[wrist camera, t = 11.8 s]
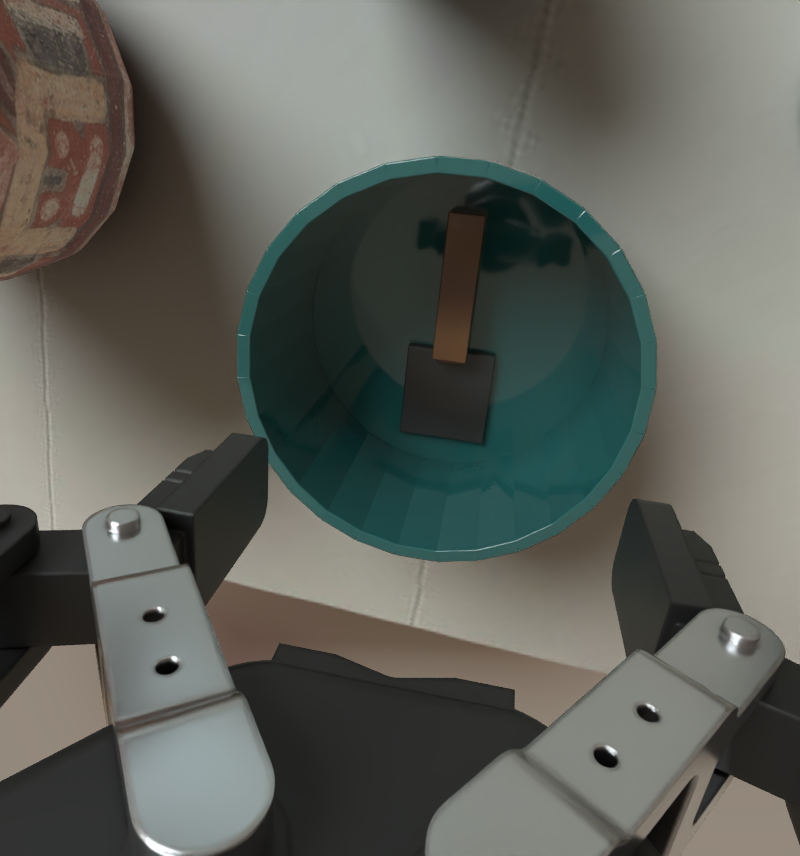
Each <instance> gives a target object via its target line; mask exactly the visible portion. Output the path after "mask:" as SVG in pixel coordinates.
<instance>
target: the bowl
mask: <svg viewBox="0 0 800 856" xmlns="http://www.w3.org/2000/svg"><path fill="white" fill-rule="evenodd" d="M454 208H456V209H465V210H474V211H484V212H487V221H486V228H485V236H484V243H483V250H482V258H481V265H480V272H479V279H478V287H477V294H476V301H475V309H474V316H473V323H472V330H471V338H470V345H469V351H476V352H484V353H491V354H496V358H495V365H494V371H493V378H492V384H491V391H490V397H489V404H488V410H487V417H486V423H485V430H484V436H483V442H482V443H475V442H468V441H461V440H455V439H448V438H441V437H434V436H427V435H421V434H414V433H407V432H401V431H400V425H401V415H402V405H403V395H404V385H405V375H406V365H407V355H408V346H409V344H410V343H415V344H423V345H431V346H433V343H434V335H435V326H436V317H437V309H438V300H439V291H440V283H441V274H442V265H443V256H444V248H445V239H446V230H447V222H448V213H449V212H450V211H451V210H452V209H454ZM237 333H238V334H237V376H238V377H237V379H238V384H239V388H240V392H241V397H242V401H243V405H244V410H245V414H246V418H247V420H248V423H249V425H250V427H251V429H252V431H253V433H254V435H255V436H257V437H263V438H266V439H267V442H268V448H269V453H268V462H269V464H270V465H271V467H272V468H273V469H274V471H275V472H276V473H277V475H278V476H279V477H280V479H281V480H282V481H283V483H284V484H285V485H286V487H287V488H288V489H289V490H290V492H291V493H292V494H293V495H295V496H296V497H297V498H298V499H299V500H300V501H301V502H302V503H303V504H305V505H306V506H307V507H308V508H309V509H310V510H311V511H312V512H313V513H314V514H316V515H317V516H318V517H319V518H321V519H322V520H323V521H325V522H326V523H328V524H330V525H331V526H333V527H335V528H336V529H338V530H340V531H341V532H343V533H345V534H346V535H348V536H350V537H351V538H353V539H355V540H356V539H357V541H359V542H362V543H364V544H367V545H370V546H373V547H375V548H378V549H381V550H383V551H386V552H389V553H392V554H396V555H399V556H405V557H411V558H417V559H423V560H429V561H437V562H451V561H478V560H484V559H488V558H493V557H497V556H501V555H506V554H510V553H515V552H519V551H522V550H524V549H527V548H529V547H531V546H533V545H535V544H538V543H540V542H542V541H544V540H546V539H549V538H551V537H553V536H555V535H558V534H559V533H561V532H562V531H563V530H565V529H566V528H568V527H569V526H570V525H572V524H573V523H574V522H576V521H577V520H578V519H580V518H581V517H582V516H584V515H585V514H587V513H588V512H589V511H591V510H592V509H593V508H594V507H595V506H596V505H597V504H598V503H599V502H600V501H601V500H602V498H603V497H604V496H605V495H606V494H607V493H608V491H609V490H610V489H611V488H612V487H613V486H614V485H615V483H616V482H617V481H618V480H619V479H620V478H621V477H622V475H623V474H624V473H625V471H626V469H627V467H628V465H629V463H630V461H631V459H632V458H633V456H634V454H635V452H636V450H637V448H638V446H639V444H640V443H641V441H642V439H643V437H644V434H645V432H646V428H647V424H648V420H649V416H650V412H651V408H652V404H653V401H654V397H655V393H656V383H657V342H656V336H655V331H654V327H653V323H652V319H651V315H650V311H649V307H648V303H647V299H646V295H645V293H644V290H643V288H642V286H641V284H640V283H639V281H638V279H637V277H636V275H635V273H634V271H633V269H632V268H631V266H630V264H629V262H628V260H627V258H626V256H625V254H624V253H623V251H622V249H621V248H620V246H619V245H618V244H617V243H616V242H615V241H614V240H613V238H612V237H611V236H610V235H609V234H608V233H607V232H606V231H605V230H604V229H603V227H602V226H601V225H600V224H599V223H598V222H597V221H596V220H595V219H594V217H593V216H592V215H591V214H590V213H589V212H588V211H587V210H586V209H585V208H584V207H582V206H581V205H579V204H578V203H576V202H575V201H573V200H572V199H570V198H569V197H567V196H566V195H564V194H563V193H561V192H560V191H558V190H557V189H555V188H554V187H552V186H551V185H549V184H548V183H546V182H545V181H543V180H542V179H540V178H538V177H537V176H535V175H533V174H532V173H529V172H526V171H523V170H520V169H518V168H515V167H512V166H509V165H506V164H504V163H501V162H498V161H493V160H483V159H473V158H463V157H449V156H431V157H424V158H418V159H411V160H404V161H397V162H390V163H386V164H382V165H379V166H377V167H374V168H372V169H370V170H367V171H365V172H362V173H360V174H357V175H355V176H352V177H350V178H348V179H345V180H343V181H340V182H338V183H337V184H335V185H334V186H332V187H331V188H330V189H328V190H327V191H325V192H324V193H323V194H321V195H320V196H319V197H317V198H316V199H315V200H313V201H312V202H310V203H309V204H308V205H306V206H305V207H304V208H302V209H301V210H299V212H298V213H296V214H295V216H294V217H293V218H292V219H291V220H290V222H289V223H288V224H287V225H286V226H285V228H284V229H283V230H282V231H281V232H280V234H279V235H278V236H277V237H276V238H275V240H274V241H273V242H272V243H271V244H270V246H269V247H268V249H267V250H266V252H265V254H264V256H263V258H262V260H261V262H260V264H259V266H258V268H257V270H256V272H255V274H254V276H253V278H252V280H251V282H250V284H249V286H248V289H247V291H246V296H245V300H244V305H243V309H242V314H241V318H240V322H239V327H238V331H237Z"/></svg>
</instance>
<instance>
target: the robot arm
mask: <svg viewBox="0 0 800 856" xmlns="http://www.w3.org/2000/svg"><path fill="white" fill-rule="evenodd" d="M268 453H269V448H268V442H267V439H266V438H263V437H257V436H250V435H244V434H238V433H232V434H231V435H230V436H229V437H228V438H227V439H226V440H225V441H224V442H223V443H221V444H220V445H219V446H218V447H217V448H216V449H215V450H214V451H212V450H205V451H203V452H200V453H198V454H196V455H193V456H191V457H189V458H187V459H186V460H185V461H184V462H182V463H181V464H180V465H179V466H178V467H177V468H176V469H175V472H174V471H173V472H172V473H171V474H169V475H168V476H167V477H166V479H165V481H162V482H161V483H160V484H159V485H158V486H156V487H155V488H154V489H153V490H152V491H151V492H150V493H149V494H148V495H147V496H146V497H145V498H143V499H142V500H141V501H140V502H139V503H138V504H137V505H134V504H129V505H118V506H113V507H109V508H105V509H103V510H100V511H98V512H96V513H94V514H93V515H91V516H90V517H89V518H88V519H86V521H85V522H84V523H83V526H82V530H50V531H39V528H38V521H37V515H36V513H35V512H34V511H33V510H31V509H29V508H27V507H24V506H19V505H0V708H1V707H2V705H3V704H4V703H5V702H6V701H7V700H8V698H9V697H10V696H11V695H12V694H13V692H14V691H15V690H16V689H17V687H19V685H20V684H21V683H22V682H23V681H24V679H25V678H26V677H27V676H28V675H29V673H30V672H31V671H32V670H33V669H34V668H35V666H36V665H37V664H38V663H39V662H40V661H41V659H42V658H43V657H44V656H45V655H46V653H47V652H48V651H49V650H50V648H51V647H52V646H60V645H80V644H95V649H96V657H97V664H98V671H99V677H100V684H101V691H102V698H103V705H104V711H105V718H106V725H107V727H105V728H103V729H101V730H99V731H97V732H95V733H93V734H91V735H89V736H87V737H85V738H84V739H82V740H80V741H78V742H76V743H74V744H72V745H70V746H68V747H66V748H64V749H62V750H60V751H58V752H57V753H55V754H53V755H51V756H49V757H47V758H45V759H43V760H41V761H39V762H37V763H35V764H33V765H32V766H29V767H28V768H26V769H24V770H22V771H20V772H18V773H16V774H14V775H12V776H10V777H8V778H6V779H4V780H2V781H1V782H0V856H681V854H682V852H683V850H684V849H685V847H686V846H687V844H688V843H689V841H690V840H691V838H692V837H693V835H694V834H695V833H696V831H697V830H698V828H699V827H700V826H701V824H702V823H703V821H704V820H705V818H706V817H707V816H708V814H709V813H710V811H711V810H712V808H713V807H714V805H715V804H716V802H717V801H718V800H719V798H720V797H721V796H722V794H723V793H724V791H725V790H726V788H727V787H728V786H729V784H730V782H731V781H732V779H733V777H736V778H738V779H740V780H743V781H745V782H747V783H749V784H752V785H753V786H756V787H758V788H760V789H762V790H764V791H767V792H769V793H771V794H773V795H775V796H777V797H780V798H782V799H784V800H785V802H786V806H787V809H788V812H789V815H790V818H791V821H792V824H793V827H794V830H795V833H796V835H797V838H798V841H799V844H800V665H799V664H796V663H794V662H792V661H790V660H788V659H786V658H785V653H786V652H785V647H784V645H783V643H782V641H781V640H780V639H779V637H778V636H777V635H776V634H775V633H774V632H773V631H772V630H770V629H769V628H768V627H767V626H765V625H764V624H762V623H761V622H759V621H757V620H756V619H754V618H751V617H749V616H747V615H745V614H744V613H743V611H742V609H741V607H740V605H739V603H738V601H737V599H736V597H735V595H734V592H733V590H732V588H731V586H730V584H729V582H728V580H727V579H725V574H724V572H723V570H722V568H721V566H719V562H718V560H717V558H716V556H715V554H714V552H713V549H712V547H711V546H710V545H709V544H707V543H706V542H705V541H704V540H703V539H702V538H701V537H700V536H699V535H697V534H696V533H695V532H694V531H688V530H682V528H681V526H680V524H679V521H678V519H677V517H676V514H675V512H674V510H673V508H672V506H671V505H670V504H665V503H659V502H652V501H646V500H640V499H633V500H632V501H631V503H630V505H629V508H628V512H627V515H626V519H625V523H624V526H623V530H622V534H621V537H620V541H619V545H618V548H617V552H616V556H615V559H614V564H613V570H612V592H613V596H614V601H615V606H616V610H617V615H618V620H619V624H620V629H621V634H622V638H623V643H624V648H625V652H626V657H627V658H626V659H625V660H624V661H623V662H621V663H620V664H619V665H618V666H617V667H616V668H615V669H613V670H612V671H611V672H610V673H609V674H608V675H607V676H606V677H604V678H603V679H602V680H601V681H600V682H599V683H598V684H596V685H595V686H594V687H593V688H592V689H591V690H590V691H589V692H587V693H586V694H585V695H584V696H583V697H582V698H581V699H579V700H578V701H577V702H576V703H575V704H574V705H573V706H571V707H570V708H569V709H568V710H567V711H566V712H565V713H564V714H563V715H561V716H560V717H559V718H558V719H557V720H556V721H554V722H553V723H552V724H551V725H550V726H549V727H547V726H545V725H544V724H542V723H541V722H539V721H538V720H536V719H534V718H532V717H530V716H528V715H526V714H525V713H523V712H520V711H518V710H516V709H514V702H515V701H514V698H515V697H514V696H515V690H512V689H508V688H503V687H498V686H492V685H488V684H483V683H478V682H472V681H467V680H463V679H457V678H394V677H389V676H386V675H383V674H381V673H379V672H377V671H374V670H371V669H369V668H367V667H364V666H362V665H360V664H357V663H355V662H353V661H350V660H348V659H346V658H343V657H341V656H338V655H336V654H331V653H326V652H321V651H316V650H311V649H306V648H301V647H296V646H291V645H286V644H281V643H280V644H279V646H278V648H277V650H276V652H275V654H274V656H273V658H272V660H263V661H252V662H246V663H241V664H236V665H232V666H229V667H227V664H226V661H225V659H224V657H223V653H222V651H221V648H220V645H219V643H218V640H217V637H216V635H215V632H214V629H213V627H212V624H211V622H210V619H209V616H208V613H207V611H206V608H205V606H206V604H207V603H208V601H209V600H210V598H211V597H212V596H213V594H214V593H215V591H216V590H217V588H218V587H219V585H220V584H221V583H222V581H223V580H224V578H225V577H226V575H227V574H228V573H229V571H230V570H231V568H232V567H233V565H234V564H235V562H236V561H237V560H238V558H239V557H240V555H241V554H242V552H243V551H244V549H245V548H246V546H247V545H248V544H249V542H250V541H251V539H252V538H253V536H254V535H255V533H256V532H257V531H258V529H259V528H260V526H261V524H262V522H263V519H264V516H265V513H266V508H267V500H268Z"/></svg>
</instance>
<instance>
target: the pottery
mask: <svg viewBox="0 0 800 856" xmlns="http://www.w3.org/2000/svg"><path fill="white" fill-rule="evenodd" d="M134 147H135V131H134V109H133V87H132V85H131V82H130V79H129V77H128V74H127V71H126V68H125V66H124V63H123V60H122V57H121V55H120V52H119V49H118V47H117V44H116V41H115V38H114V36H113V33H112V30H111V28H110V25H109V23H108V20H107V18H106V15H105V13H104V12H103V10H102V9H101V7H100V6H99V4H98V3H97V1H96V0H0V281H3V280H8V279H11V278H14V277H17V276H20V275H23V274H26V273H29V272H32V271H34V270H37V269H39V268H42V267H44V266H47V265H49V264H52V263H54V262H57V261H59V260H62V259H64V258H67V257H69V256H72V255H74V254H76V253H77V252H79V251H80V250H81V249H82V248H83V247H84V246H85V245H86V244H87V243H88V242H89V241H90V239H91V238H92V237H93V236H94V235H95V233H96V232H97V231H98V230H99V229H100V227H101V226H102V225H103V224H104V223H105V221H106V220H107V219H108V218H109V217H110V216H111V214H112V213H113V212H114V211H115V209H116V206H117V203H118V200H119V196H120V193H121V190H122V187H123V183H124V180H125V177H126V174H127V170H128V167H129V164H130V161H131V158H132V154H133V151H134Z"/></svg>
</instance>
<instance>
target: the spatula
mask: <svg viewBox="0 0 800 856" xmlns="http://www.w3.org/2000/svg"><path fill="white" fill-rule="evenodd" d="M486 221H487V212H484V211H474V210H465V209H456V208H454V209H452V210H451V211H450V212H449V213H448V222H447V230H446V239H445V248H444V256H443V265H442V274H441V283H440V291H439V300H438V309H437V317H436V326H435V335H434V343H433V346H431V345H423V344H415V343H410V344H409V346H408V355H407V365H406V375H405V385H404V395H403V405H402V415H401V425H400V431H401V432H407V433H414V434H421V435H427V436H434V437H441V438H448V439H455V440H461V441H468V442H475V443H482V442H483V436H484V430H485V423H486V417H487V410H488V404H489V397H490V391H491V384H492V378H493V371H494V365H495V358H496V354H491V353H484V352H476V351H469V345H470V338H471V330H472V323H473V316H474V309H475V301H476V294H477V287H478V279H479V272H480V265H481V258H482V250H483V243H484V236H485V228H486Z"/></svg>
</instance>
